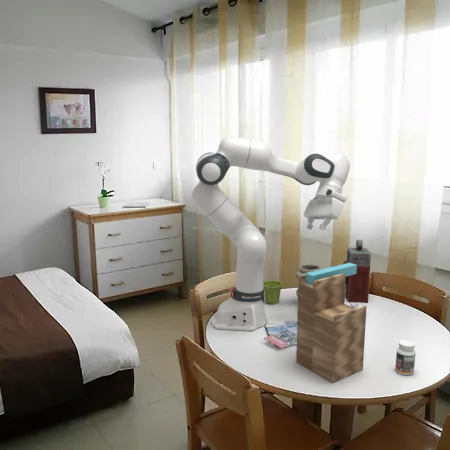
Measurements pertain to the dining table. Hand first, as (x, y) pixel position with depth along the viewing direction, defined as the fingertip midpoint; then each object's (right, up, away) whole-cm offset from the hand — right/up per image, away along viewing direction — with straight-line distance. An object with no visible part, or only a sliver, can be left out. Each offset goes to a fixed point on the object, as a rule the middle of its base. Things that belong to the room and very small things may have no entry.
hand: (315, 229), depth 179 cm
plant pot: (-13, -33, +37) cm, 51 cm away
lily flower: (+21, -36, +24) cm, 49 cm away
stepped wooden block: (0, -45, -20) cm, 50 cm away
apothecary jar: (+4, -34, +33) cm, 47 cm away
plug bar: (+2, -16, -19) cm, 25 cm away
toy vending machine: (+25, -33, +40) cm, 58 cm away
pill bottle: (+24, -46, -25) cm, 58 cm away
